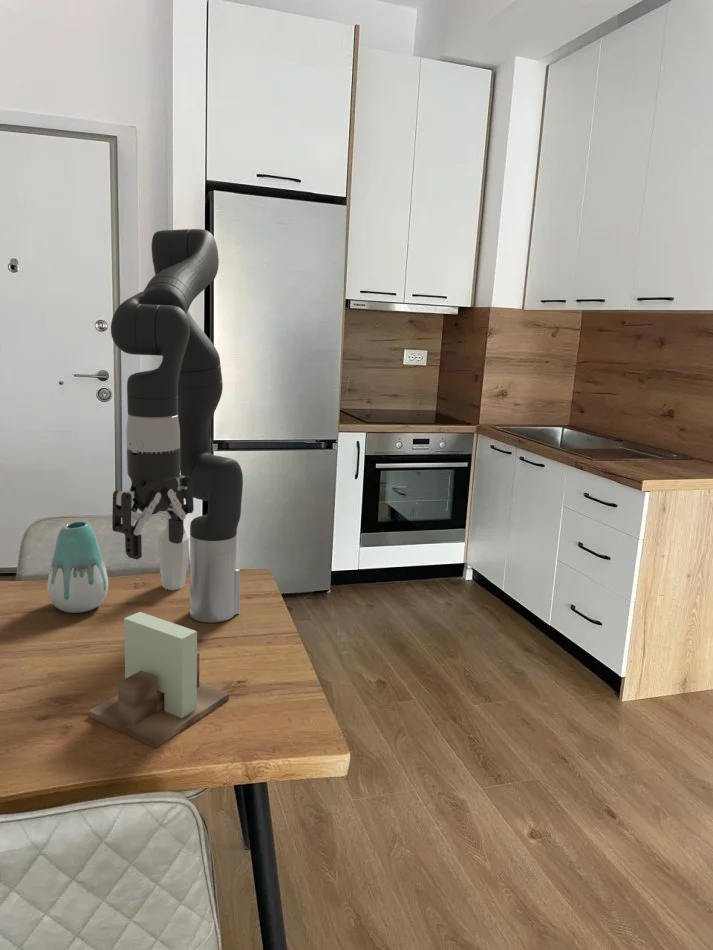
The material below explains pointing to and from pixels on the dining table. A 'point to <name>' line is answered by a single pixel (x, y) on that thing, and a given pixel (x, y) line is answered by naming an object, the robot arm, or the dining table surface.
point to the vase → (77, 570)
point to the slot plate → (152, 709)
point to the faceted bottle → (172, 559)
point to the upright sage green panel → (164, 659)
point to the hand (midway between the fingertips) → (155, 549)
